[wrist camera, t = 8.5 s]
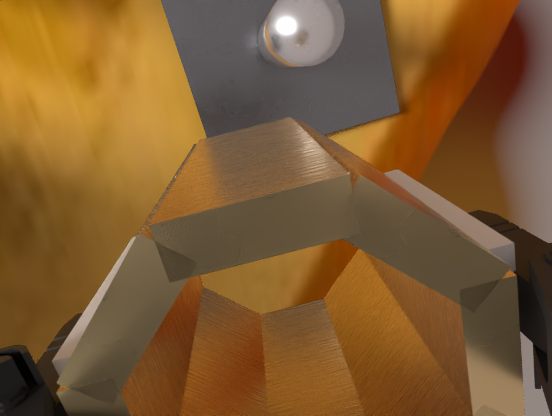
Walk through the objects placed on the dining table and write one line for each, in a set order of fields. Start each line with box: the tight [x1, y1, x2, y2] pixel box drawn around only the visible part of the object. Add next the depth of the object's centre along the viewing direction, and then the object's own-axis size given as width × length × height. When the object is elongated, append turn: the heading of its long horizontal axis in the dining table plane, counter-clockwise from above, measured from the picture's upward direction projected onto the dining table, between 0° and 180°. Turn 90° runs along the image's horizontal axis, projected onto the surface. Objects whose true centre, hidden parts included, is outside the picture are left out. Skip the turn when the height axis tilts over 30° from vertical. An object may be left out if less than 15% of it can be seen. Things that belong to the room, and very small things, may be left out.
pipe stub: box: [161, 0, 400, 138], centre depth 28 cm, size 16×16×12 cm
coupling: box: [56, 117, 525, 416], centre depth 11 cm, size 8×8×8 cm
